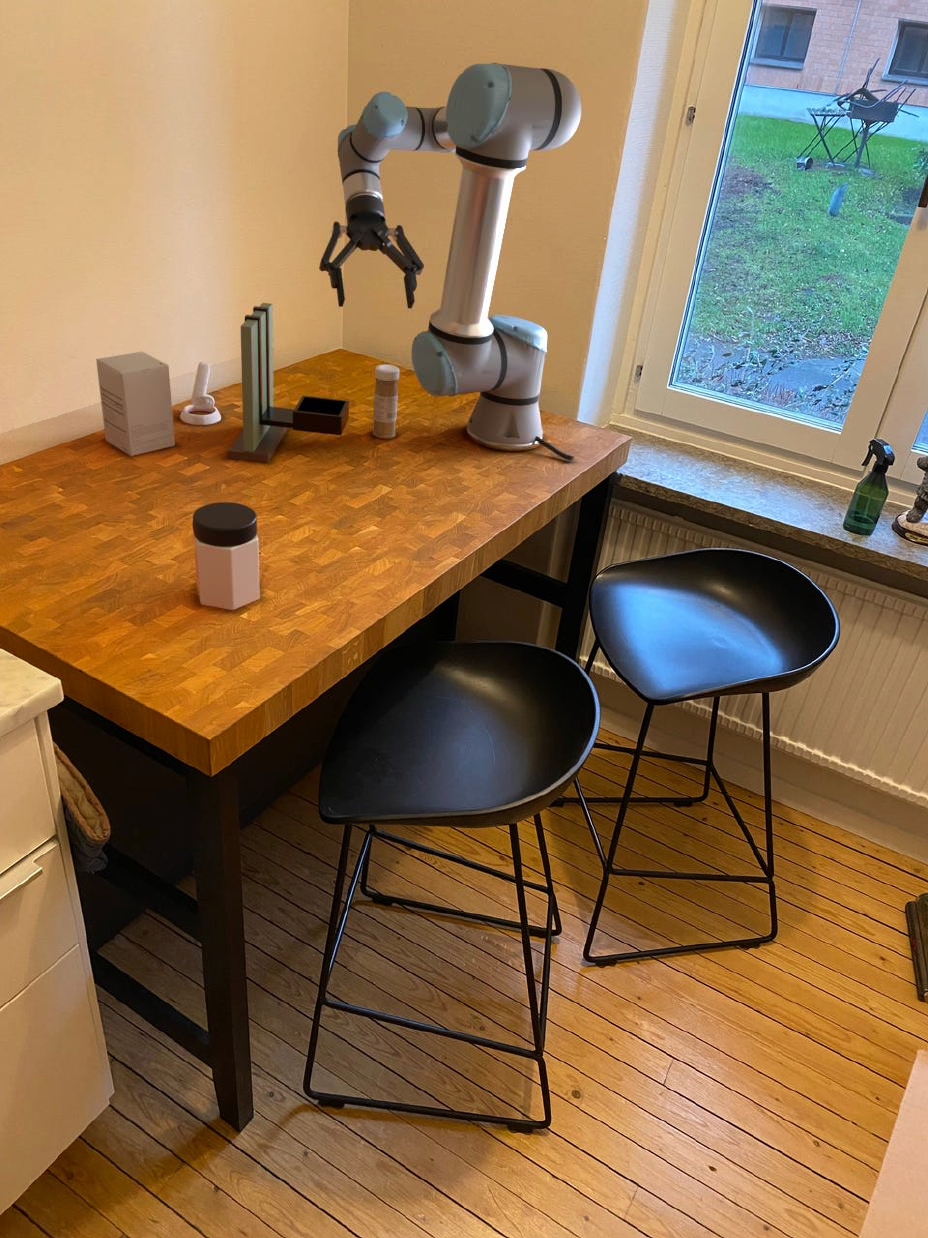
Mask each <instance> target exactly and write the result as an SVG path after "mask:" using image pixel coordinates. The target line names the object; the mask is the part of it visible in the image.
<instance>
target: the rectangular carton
mask: <svg viewBox="0 0 928 1238" xmlns="http://www.w3.org/2000/svg"><path fill="white" fill-rule="evenodd" d="M95 362H96V371H97V377H98V387H99V394H100V402H101V403H100V404H101V412H102V420H103V429H104V437H105V442H108V443H109V444H110V445H113V446H114V447H115V448H116V449H119V451H120V450H121V451H122V452H124V453H125V454H127V456H130V457H133V456H137V455H141V454H146V453H150V452H155V451H158V450H162V449H167V448H170V447H171V448H172V447H175V446H176V441H175V440H176V439H175V429H174V427H175V426H174V417H173V416H174V415H173V414H174V413H173V405H172V404H173V403H172V391H171V382H170V381H171V379H170V366H169V364H168V363H165V362H163V361H161V360H159V359H157V358H155V357H154V356H152V355H150V354H149V353H147V352H145V351H137V352H131V353H125V354H119V355H112V356H107V357H100V358H96V361H95Z"/></svg>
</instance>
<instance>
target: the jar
mask: <svg viewBox="0 0 928 1238" xmlns="http://www.w3.org/2000/svg"><path fill="white" fill-rule="evenodd" d="M191 524H192V531H193V532H192V533H193V534H192V535H193V550H194V565H195V566H194V568H195V582H196V590H197V595H198V599H199V604H200V605H202V606H206V607H212V608H218V609H224V610H228V611H235V610H237V609H239V608H242V607H244V606H246V605H249V604H251V603H254V602H255V601H258V600H260V598H261V596H260V593H261V592H260V548H259V545H260V544H259V537H258V515H257V513H256V511H255V510H254V509H253V508H251V507H250V506H248V505H245V504H243V503H237V502H231V501H219V502H213V503H208V504H205V505H202V506H200V507H198V508H197V509H196V510H195V511H194V512H193V514H192V522H191Z"/></svg>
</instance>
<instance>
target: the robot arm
mask: <svg viewBox="0 0 928 1238" xmlns="http://www.w3.org/2000/svg"><path fill="white" fill-rule="evenodd" d="M581 117H582V100H581V97H580V93H579V91H578V89H577V87H576V86H575V83H574V82H572V80H571V79H570V78H569V77H567V76H566V75H565V74H563V73H562V72H560V71H557V70H554V69H550V68H544V67H543V68H542V67H541V68H540V67H530V66H523V65H515V64H514V65H513V64H506V63H498V62H491V63H474V64H472V65H470V66H468V67H466V68H465V69H464V71H463V72H461V73H460V74H458V76H457V78H456V79H455V81H454V83H453V85H452V87H451V89H450V91H449V95H448V98H447V102H446V105H444V106H438V107H416V106H407V105H405V103H404V102H403V100H402V99H401V98H400V97H399V96H398V95H394V94H392V93H391V92H389V91H379V92H377V93H375V94H374V95H373V96H372V97H371V99H370V100H369V101H368V102H367V104H366V105H365V106H364V108H363V109H362V112H361V115H360V117H359V119H358V121H357V123H355V124H351V125H348V126H346V128H345V129H342V130H341V131H340V132H339V134H338V136H337V157H338V163H339V169H340V176H341V183H342V192H343V199H344V206H345V219H346V225H341V223H340V222H339V221H334V222H333V225H332V227H331V236H330V239H329V240H328V242H327V245H326V248H325V250H324V252H323V254H322V257H321V259H320V262H319V267H318V269H319V271H320V272H327V275H328V276H329V280H330V287H331V288H332V289H333V290H334V289H335V290H336V294H337V295H336V296H337V304H338V308H339V307H340V308H344V305H345V300H346V297H345V288H344V281H343V280H344V279H343V272H342V266H343V265H344V263H345V262H346V261H347V260H348V258H349V257H350V256H351V255H352V254H354V252H355V251H356V250H357V249H360V251H372V252H377V251H378V250H379V251H380V253H381V254H382V255H385V256H386V257H387V258H389V260H390V261H391V262H393V263H394V265H395V266H396V267H397V268H399V270H400V271H402V272H403V274H404V277H403V282H404V290H405V298H406V299H405V300H406V304H407V305H406V306H407V309H412V308H413V306H414V304H415V301H416V300H415V293H414V292H416V289H417V287H418V282H417V281H418V280H417V276H420V275H421V274H422V272H423V271H424V267H425V264H424V263H423V261H422V260H421V258H420V257H419V255H418V253H417V252H416V250H415V249H414V248H413V246H412V244H411V243H410V241H409V240H408V238H407V237H406V234H405V231H404V227H403V226H402V225H401V224H397V225H396V227H391V228H389V226H388V225H387V222H386V221H387V220H386V213H385V207H384V197H383V192H382V184H381V176H380V175H381V174H380V165H381V163H382V162H383V160H384V159H385V158H386V156H387V155H388V153H389V152H390V151H407V152H409V151H411V152H416V151H418V152H433V153H434V152H435V153H446V154H448V153H454V154H455V157H456V158H457V159H458V162H459V163H460V164H461V173H460V180H459V187H458V193H457V199H456V206H455V211H454V217H453V223H452V224H453V225H452V230H451V235H450V243H449V249H448V251H449V252H448V256H447V261H446V267H445V274H444V280H443V287H442V293H441V300H440V306H439V308H438V309H437V310H435V311H433V312H432V313H431V314H430V316H429V321H428V328H427V330H422V331H420V332H419V333H417V334H416V336H415V337H414V338H413V341H412V343H411V362H412V367H413V372H414V373H415V376H416V379H417V381H418V382H419V385H420V386H421V388H422V389H423V390H425V392H426V393H428V394H429V395H431V396H433V397H450V398H452V397H455V396H459V395H468V394H476V393H479V396H478V399H477V401H476V404H475V405H474V408H473V410H472V412H471V415H470V417H469V419H468V421H467V424H466V435H467V437H468V438H469V439H470V440H471V441H473V442H474V443H476V444H478V445H480V446H483V447H486V448H490V449H494V450H499V451H506V452H521V451H522V452H523V451H529V450H533V449H535V448H538V447H539V446H543V447H545V448H546V449H548V450H549V451H550V452H552V453H553V454H555V455H556V456H558V457H561V459H564V460H566V461H570V462H574V460H575V456H574V455H570V454H567V453H565V452H564V451H562V450H560V449H558V448H557V447H555V446H554V445H553V444H551V443H549V442H548V441H546V440H545V439H543V436H544V435H543V433H544V430H543V426H542V419H541V413H540V407H539V400H540V394H541V387H542V380H543V373H544V367H545V361H546V357H547V352H548V350H547V344H548V332H547V331H546V329H545V328H544V327H543V326H541V325H540V324H537V323H536V322H534V321H533V322H532V321H530V320H527V319H523V318H520V317H515V316H510V315H503V314H493V315H490V316H489V317H488V315H489V310H490V305H491V299H492V295H493V289H494V285H495V284H494V283H495V278H496V274H497V269H498V265H499V264H498V263H499V258H500V254H501V253H500V252H501V248H502V243H503V236H504V233H505V227H506V221H507V216H508V211H509V205H510V200H511V197H512V190H513V185H514V180H515V177H516V176H517V175H518V174H519V173H521V172H523V171H524V170H526V166H527V162H528V157H529V153H530V151H550V150H554V149H556V148H557V149H558V148H560V147H561V146H563V145H564V144H565V143H567V142H569V140H570V139H571V138H572V137H573V136H574V134H575V133H576V131H577V129H578V127H579V125H580V121H581ZM344 235H346V237H347V238H349V240H348V242H347V243H346V244H345V246H344V247H343V248H342V249H341V251H340V252H338V254H337V255H336V257H335V258H334V259H333V260H332V261H331V262H330V260H331V258H332V255H333V253H334V252H335V248H336V246H337V244H338V242H339V241H338V240H339V239H341V238H342V237H343V236H344ZM390 237H391V239H392V240H391V239H390ZM392 241H393V242H395V243H396V246H397V247H398V248H397V247H396V246H395V245H394V244H393V242H392Z"/></svg>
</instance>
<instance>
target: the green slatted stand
mask: <svg viewBox="0 0 928 1238" xmlns="http://www.w3.org/2000/svg"><path fill="white" fill-rule="evenodd" d="M258 307H266V308H269V366H270V407H275V406H274V404H275V403H274V401H275V400H274V304H273V303H267V302H262V303H261V304H260V305H259V306H258ZM251 315H252V316H261V356H262V415H263V413H264V412H265V410H266V409H267V373H266V311H257V310H256V311H255V312H254V313H253V312H252V313H251ZM240 351H241V352H240V357H241V359H240V361H241V392H242V393H241V394H242V395H241V396H242V398H241V399H242V401H241V402H242V431H241V432H240V433H239V435H238V437H236V439H235V441H234V442H233V443H232V445H231V447H229V449H228V451H227V452H228V459H229V460H230V459H231V460H239V461H247V462H248V461H249V462H257V463H266V464H268V463H269V462H270V460H271V458H272V457H273V455H274V453H275V452H276V450H277V448H278V446H279V444H280V443H281V441H282V440H283V438H284V436H285V434H286V433H287V431H288V429H289V428H286V427H277V426H268V425H259V373H258V320H250V319H247V320H246V321H245V320H244V322H243V323H242V324H241V325H240Z"/></svg>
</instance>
